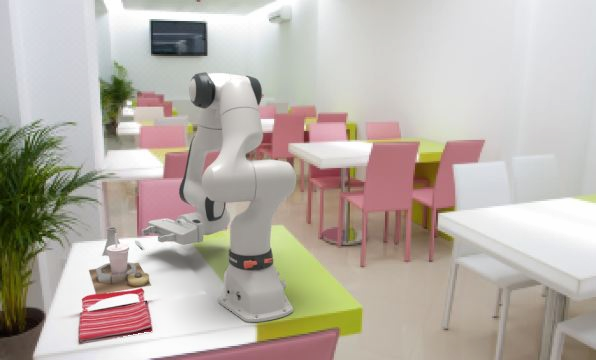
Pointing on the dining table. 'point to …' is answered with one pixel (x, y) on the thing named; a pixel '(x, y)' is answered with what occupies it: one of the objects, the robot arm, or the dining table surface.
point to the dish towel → (113, 318)
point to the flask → (110, 239)
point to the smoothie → (118, 257)
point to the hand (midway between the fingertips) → (150, 236)
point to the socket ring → (114, 278)
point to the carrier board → (133, 282)
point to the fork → (140, 245)
